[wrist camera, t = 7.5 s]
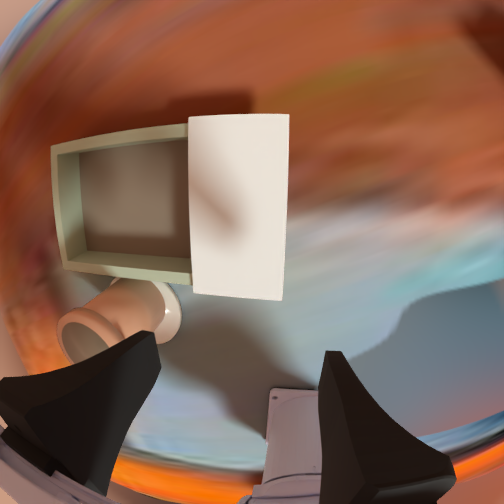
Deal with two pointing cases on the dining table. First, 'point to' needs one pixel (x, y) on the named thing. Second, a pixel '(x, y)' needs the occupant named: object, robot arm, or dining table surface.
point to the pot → (110, 318)
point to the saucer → (172, 314)
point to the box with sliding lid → (179, 204)
